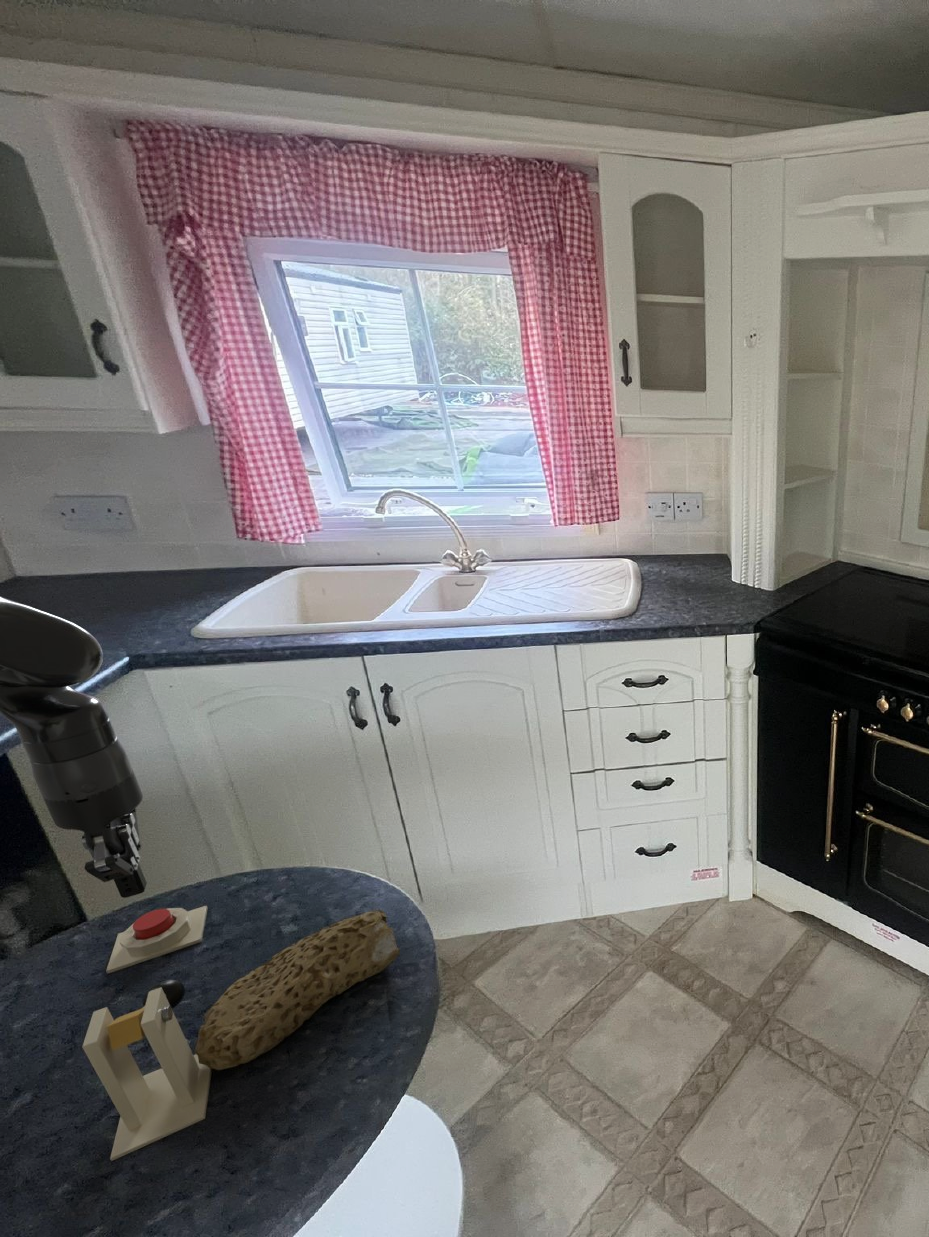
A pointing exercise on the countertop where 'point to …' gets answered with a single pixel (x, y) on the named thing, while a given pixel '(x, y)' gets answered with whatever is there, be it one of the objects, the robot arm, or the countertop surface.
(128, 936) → the button block
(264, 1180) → the countertop surface
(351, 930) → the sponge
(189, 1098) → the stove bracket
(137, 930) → the button
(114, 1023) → the lever
